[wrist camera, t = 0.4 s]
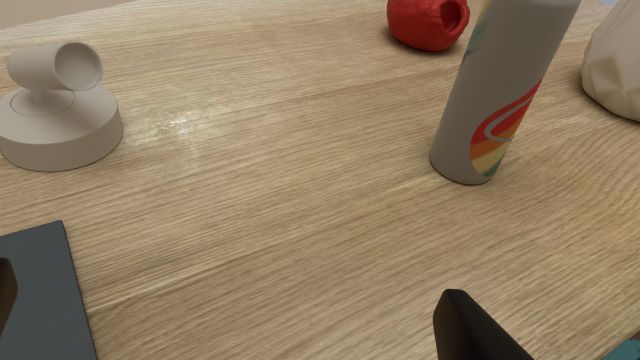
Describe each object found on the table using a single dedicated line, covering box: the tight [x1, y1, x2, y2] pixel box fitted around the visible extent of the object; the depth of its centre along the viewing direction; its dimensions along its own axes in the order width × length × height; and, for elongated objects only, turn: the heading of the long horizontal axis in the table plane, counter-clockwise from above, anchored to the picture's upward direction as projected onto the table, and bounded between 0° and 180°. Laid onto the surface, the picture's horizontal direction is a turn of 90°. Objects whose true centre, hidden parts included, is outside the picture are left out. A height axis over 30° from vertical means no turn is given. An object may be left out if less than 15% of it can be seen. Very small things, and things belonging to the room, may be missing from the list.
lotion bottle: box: [430, 0, 581, 185], centre depth 33 cm, size 6×6×20 cm
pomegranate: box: [387, 0, 470, 51], centre depth 54 cm, size 10×10×9 cm
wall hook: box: [0, 41, 123, 172], centre depth 33 cm, size 9×10×10 cm
